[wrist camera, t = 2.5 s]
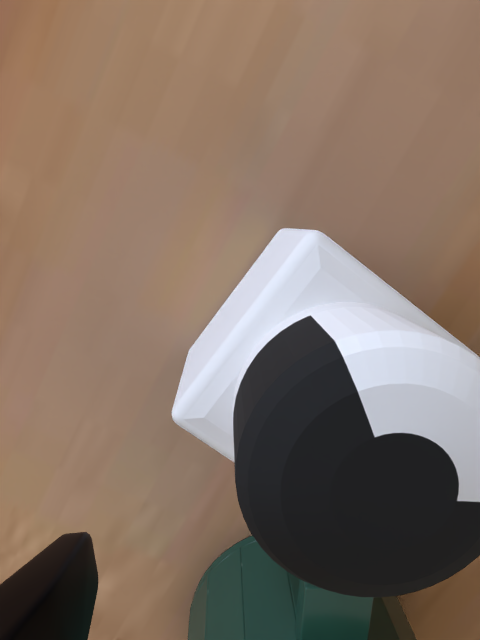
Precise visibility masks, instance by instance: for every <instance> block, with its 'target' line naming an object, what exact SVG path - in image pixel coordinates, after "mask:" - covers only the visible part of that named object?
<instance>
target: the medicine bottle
mask: <svg viewBox="0 0 480 640" xmlns="http://www.w3.org/2000/svg"><path fill="white" fill-rule="evenodd" d="M172 418H173V420H174V422H175V423H176V424H177V425H179V426H180V427H182V428H183V429H185V430H186V431H188V432H189V433H191V434H192V435H194V436H195V437H197V438H198V439H200V440H201V441H203V442H204V443H206V444H207V445H209V446H210V447H212V448H213V449H215V450H216V451H218V452H219V453H221V454H222V455H224V456H225V457H227V458H228V459H230V460H231V461H233V462H234V463H235V482H236V489H237V496H238V501H239V505H240V508H241V511H242V514H243V517H244V520H245V522H246V524H247V526H248V528H249V530H250V532H251V534H252V535H253V537H254V538H255V539H256V541H257V542H258V544H259V545H260V547H261V548H262V549H263V550H264V551H265V552H266V553H267V554H268V555H269V556H270V558H271V559H272V560H273V561H275V562H276V563H277V564H278V565H280V566H281V567H282V568H283V569H285V570H286V571H287V572H289V573H291V574H292V575H294V576H296V577H298V578H299V579H301V580H303V581H305V582H307V583H310V584H312V585H315V586H317V587H319V588H322V589H325V590H328V591H332V592H336V593H339V594H343V595H349V596H357V597H389V596H398V595H403V594H407V593H411V592H416V591H419V590H421V589H424V588H427V587H430V586H433V585H435V584H437V583H439V582H441V581H443V580H445V579H447V578H449V577H451V576H452V575H454V574H456V573H457V572H459V571H460V570H462V569H463V568H465V567H466V566H467V565H468V564H470V563H471V562H472V561H473V560H475V559H476V558H477V557H478V556H479V555H480V357H479V356H478V355H477V354H475V353H474V352H473V351H472V350H470V349H469V348H468V347H466V346H465V345H464V344H463V343H461V342H460V341H459V340H458V339H456V338H455V337H454V336H453V335H451V334H450V333H449V332H448V331H446V330H445V329H444V328H442V327H441V326H440V325H439V324H437V323H436V322H435V321H434V320H432V319H431V318H430V317H429V316H427V315H426V314H425V313H424V312H422V311H421V310H420V309H419V308H417V307H416V306H415V305H413V304H412V303H411V302H410V301H408V300H407V299H406V298H405V297H403V296H402V295H401V294H400V293H398V292H397V291H396V290H395V289H393V288H392V287H391V286H390V285H388V284H387V283H386V282H384V281H383V280H382V279H381V278H379V277H378V276H377V275H376V274H374V273H373V272H372V271H371V270H369V269H368V268H367V267H366V266H364V265H363V264H362V263H360V262H359V261H358V260H357V259H355V258H354V257H353V256H352V255H350V254H349V253H348V252H347V251H345V250H344V249H343V248H342V247H340V246H339V245H338V244H337V243H335V242H334V241H333V240H331V239H330V238H329V237H328V236H326V235H325V234H324V233H322V232H320V231H317V230H306V229H291V228H284V229H281V230H280V231H278V232H277V234H276V235H275V236H274V238H273V239H272V240H271V242H270V243H269V244H268V246H267V247H266V248H265V250H264V251H263V252H262V254H261V255H260V256H259V258H258V259H257V260H256V262H255V263H254V264H253V266H252V267H251V268H250V270H249V271H248V272H247V274H246V275H245V276H244V278H243V279H242V280H241V282H240V283H239V284H238V286H237V287H236V288H235V290H234V291H233V292H232V294H231V295H230V296H229V298H228V299H227V300H226V302H225V303H224V304H223V306H222V307H221V308H220V310H219V311H218V312H217V314H216V315H215V316H214V318H213V319H212V320H211V322H210V323H209V324H208V326H207V327H206V328H205V330H204V331H203V332H202V334H201V335H200V336H199V338H198V339H197V340H196V342H195V343H194V344H193V346H192V347H191V348H190V350H189V352H188V355H187V359H186V363H185V366H184V370H183V373H182V377H181V380H180V384H179V388H178V391H177V395H176V398H175V402H174V405H173V409H172Z"/></svg>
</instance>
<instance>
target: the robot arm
mask: <svg viewBox="0 0 480 640" xmlns="http://www.w3.org/2000/svg"><path fill="white" fill-rule="evenodd" d="M97 590H98V572H97V566H96V560H95V555H94V549H93V543H92V539H91V537H90V534H88V533H87V532H80V533H69V534H64V535H62V536H61V537H59V538H58V539H57V540H55V541H54V542H53V543H52V544H50V545H49V546H48V547H47V548H45V549H44V550H43V551H42V552H40V553H39V554H38V555H37V556H35V557H34V558H33V559H32V560H30V561H29V562H28V563H27V564H25V565H24V566H23V567H22V568H20V569H19V570H18V571H17V572H15V573H14V574H13V575H12V576H10V577H9V578H8V579H7V580H5V581H4V582H3V583H2V584H0V640H87V639H88V634H89V629H90V625H91V620H92V615H93V610H94V605H95V600H96V595H97Z"/></svg>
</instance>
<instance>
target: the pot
mask: <svg viewBox="0 0 480 640" xmlns="http://www.w3.org/2000/svg"><path fill="white" fill-rule="evenodd" d="M188 640H417V639H416V637H415V635H414V633H413V631H412V629H411V626H410V624H409V622H408V620H407V618H406V616H405V614H404V611H403V609H402V607H401V605H400V603H399V601H398V598H397V596H389V597H357V596H349V595H343V594H339V593H336V592H332V591H328V590H325V589H322V588H319V587H317V586H315V585H312V584H310V583H307V582H305V581H303V580H301V579H299V578H298V577H296V576H294V575H292V574H291V573H289V572H287V571H286V570H285V569H283V568H282V567H281V566H280V565H278V564H277V563H276V562H275V561H273V560H272V559H271V558H270V556H269V555H268V554H267V553H266V552H265V551H264V550H263V549H262V548H261V547H260V545H259V544H258V542H257V541H256V539H255V538H254V537H253V536H250V537H248V538H246V539H244V540H242V541H240V542H238V543H237V544H235V545H233V546H232V547H231V548H229V549H228V550H226V551H225V552H224V553H223V554H222V555H220V556H219V557H218V558H217V559H216V560H215V561H214V562H213V563H212V565H211V566H210V567H209V568H208V569H207V571H206V572H205V574H204V575H203V577H202V579H201V580H200V582H199V584H198V587H197V589H196V591H195V594H194V598H193V602H192V604H191V608H190V619H189V631H188Z"/></svg>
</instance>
